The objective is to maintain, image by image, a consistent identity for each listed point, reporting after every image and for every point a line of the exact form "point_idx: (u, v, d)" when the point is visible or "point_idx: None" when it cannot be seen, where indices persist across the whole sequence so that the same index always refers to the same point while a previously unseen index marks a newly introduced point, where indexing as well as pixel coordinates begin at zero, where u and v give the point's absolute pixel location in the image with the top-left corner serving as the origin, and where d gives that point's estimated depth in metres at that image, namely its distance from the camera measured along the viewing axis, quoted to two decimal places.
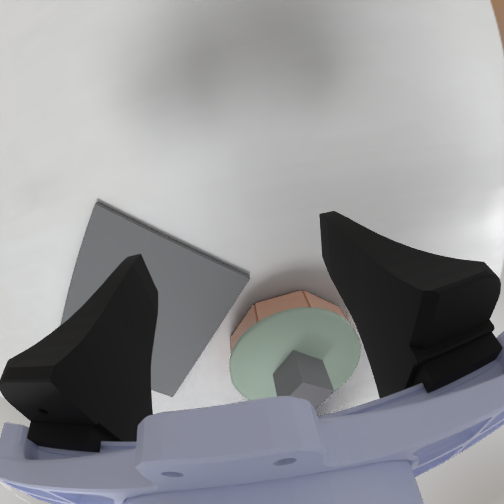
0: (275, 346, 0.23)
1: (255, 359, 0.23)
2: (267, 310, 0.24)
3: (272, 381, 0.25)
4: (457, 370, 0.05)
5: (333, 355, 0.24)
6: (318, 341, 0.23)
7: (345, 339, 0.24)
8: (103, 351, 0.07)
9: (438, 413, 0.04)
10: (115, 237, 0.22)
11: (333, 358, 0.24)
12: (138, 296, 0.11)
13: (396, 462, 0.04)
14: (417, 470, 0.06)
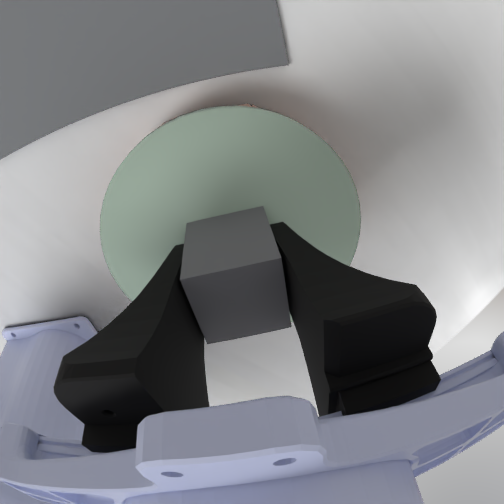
0: (247, 171, 0.11)
1: (194, 165, 0.11)
2: None
3: (171, 238, 0.12)
4: (378, 402, 0.05)
5: None
6: (305, 228, 0.13)
7: None
8: (171, 342, 0.07)
9: (438, 413, 0.04)
10: None
11: None
12: None
13: (396, 462, 0.04)
14: (416, 470, 0.06)
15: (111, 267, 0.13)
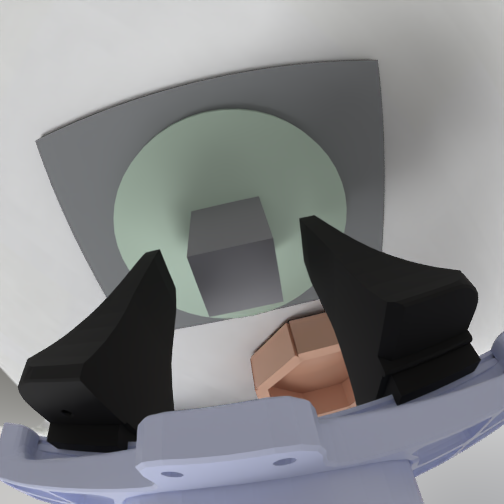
0: (245, 165, 0.13)
1: (199, 160, 0.12)
2: None
3: (177, 224, 0.14)
4: (428, 383, 0.05)
5: (287, 257, 0.15)
6: (296, 216, 0.14)
7: None
8: (128, 348, 0.07)
9: (438, 413, 0.04)
10: (350, 112, 0.13)
11: (281, 263, 0.16)
12: (158, 292, 0.11)
13: (396, 462, 0.04)
14: (416, 470, 0.06)
15: (122, 252, 0.14)
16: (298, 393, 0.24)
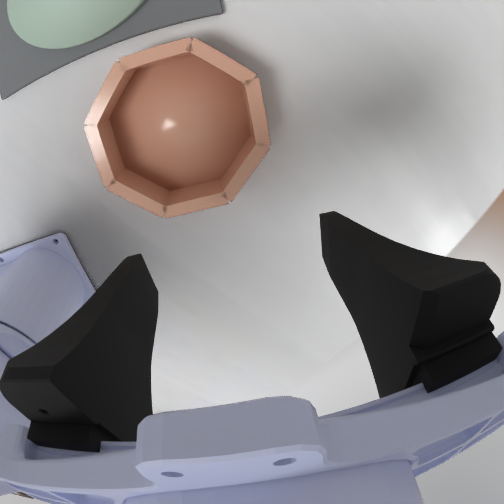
0: None
1: None
2: None
3: None
4: (457, 370, 0.05)
5: None
6: None
7: None
8: (102, 351, 0.07)
9: (438, 413, 0.04)
10: None
11: None
12: (138, 296, 0.11)
13: (396, 462, 0.04)
14: (417, 470, 0.06)
15: (8, 7, 0.10)
16: (165, 188, 0.20)
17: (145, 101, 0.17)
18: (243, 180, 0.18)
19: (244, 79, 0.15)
